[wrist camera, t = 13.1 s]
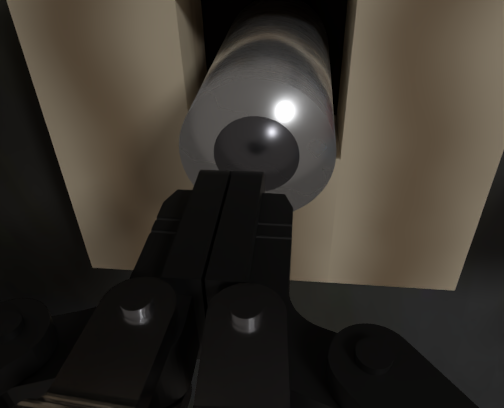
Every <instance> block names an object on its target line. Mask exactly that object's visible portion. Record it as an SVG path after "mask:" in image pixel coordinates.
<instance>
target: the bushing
mask: <svg viewBox="0 0 504 408" xmlns="http://www.w3.org/2000/svg"><path fill="white" fill-rule="evenodd" d="M179 153H180V158H181V162H182V165H183V168H184V170H185V172H186V174H187V176H188V178H189V179H190V181H191V182H192V184H193V185H194V184H195V181H196V179H197V176H198V173H199V171H200V170H201V169H202V170H227V171H232V172H233V171H255V172H264V176H265V193H274V194H285V195H286V197H287V198H288V200H289V202H290V203H291V205H292V207H293V211H295V210H298V209H300V208H302V207H303V206H305V205H307V204H308V203H310V202H311V201H312V200H313V199H315V198H316V197H317V196H318V195H319V194H320V193H321V192H322V191H323V189H324V188H325V186H326V185H327V184H328V182H329V180H330V178H331V176H332V173H333V170H334V167H335V162H336V138H335V125H334V111H333V98H332V84H331V71H330V57H329V43H328V36H327V32H326V29H325V26H324V24H323V22H322V20H321V19H320V17H319V16H318V14H317V13H316V12H315V11H314V10H313V9H312V8H311V7H310V6H308V5H307V4H306V3H304V2H302V1H300V0H255V1H253V2H251V3H250V4H249V5H247V6H246V7H245V8H244V9H243V10H242V11H240V13H239V14H238V15H237V17H236V18H235V20H234V21H233V23H232V25H231V27H230V29H229V31H228V33H227V35H226V37H225V39H224V41H223V43H222V45H221V47H220V49H219V51H218V53H217V55H216V57H215V59H214V61H213V63H212V65H211V67H210V69H209V71H208V73H207V75H206V77H205V79H204V81H203V83H202V85H201V87H200V89H199V91H198V93H197V95H196V97H195V99H194V101H193V103H192V105H191V107H190V109H189V111H188V113H187V115H186V117H185V119H184V122H183V124H182V127H181V131H180V136H179Z"/></svg>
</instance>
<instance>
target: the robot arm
mask: <svg viewBox="0 0 504 408" xmlns="http://www.w3.org/2000/svg"><path fill="white" fill-rule="evenodd" d="M292 227H293V207H292V205H291V203H290V202H289V200H288V198H287V197H286V195H285V194H274V193H265V176H264V172H255V171H233V172H232V171H227V170H202V169H201V170H200V171H199V173H198V176H197V179H196V181H195V184H194V187H193V190H180V189H177V190H176V191H175V192H174V193H173V194H172V195H171V196H170V197H168V198H167V199H166V200H165V201H164V202H163V204H162V206H161V208H160V211H159V213H158V215H157V220H155V222H154V224H153V226H152V229H151V233H149V236H148V238H147V240H146V242H145V245H144V247H143V249H142V252H141V254H140V256H139V258H138V261H137V263H136V265H135V267H134V270H133V272H132V274H131V277H130V279H128V280H125V281H123V282H120V283H118V284H117V285H115V286H114V287H112V288H111V289H110V290H109V291H108V292H107V293H106V294H105V295H104V296H103V297H102V299H101V300H100V302H99V304H98V306H97V307H94V308H91V309H87V310H83V311H78V312H73V313H68V314H62V315H57V316H52V317H51V315H50V313H49V311H48V309H47V307H46V306H45V305H44V304H43V303H41V302H39V301H37V300H34V299H28V298H19V299H12V300H8V301H5V302H2V303H0V408H188V405H189V402H190V398H191V394H192V384H191V381H192V377H193V373H194V369H195V364H196V360H197V359H200V362H199V369H198V376H197V383H196V391H195V398H194V405H193V408H479V407H478V406H477V405H476V404H474V403H473V402H472V401H471V400H470V399H469V398H468V397H467V396H466V395H465V394H464V393H463V392H461V391H460V390H459V389H458V388H457V387H456V386H455V385H454V384H453V383H452V382H451V381H450V380H448V379H447V378H446V377H445V376H444V375H443V374H442V373H441V372H440V371H439V370H438V369H437V368H435V367H434V366H433V365H432V364H431V363H430V362H429V361H428V360H427V359H426V358H425V357H424V356H422V355H421V354H420V353H419V352H418V351H417V350H416V349H415V348H414V347H413V346H412V345H411V344H409V343H408V342H407V341H406V340H405V339H404V338H403V337H401V336H400V335H399V334H397V333H396V332H394V331H392V330H390V329H388V328H386V327H383V326H379V325H375V324H356V325H352V326H349V327H347V328H344V329H343V330H341V331H340V332H338V333H335V332H333V331H330V330H327V329H324V328H322V327H319V326H317V325H314V324H312V323H311V322H309V321H307V320H306V319H305V318H303V317H302V316H301V315H300V314H299V313H298V312H297V311H296V310H295V308H294V307H293V305H292V303H291V301H290V297H289V289H290V271H291V251H292Z"/></svg>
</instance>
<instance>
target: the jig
mask: <svg viewBox="0 0 504 408" xmlns="http://www.w3.org/2000/svg"><path fill="white" fill-rule="evenodd" d="M6 1H7V4H8V7H9V10H10V13H11V16H12V19H13V22H14V26H15V29H16V32H17V35H18V38H19V41H20V44H21V47H22V50H23V54H24V57H25V60H26V63H27V66H28V69H29V72H30V75H31V78H32V81H33V85H34V88H35V91H36V94H37V97H38V100H39V103H40V106H41V109H42V113H43V116H44V119H45V122H46V125H47V128H48V131H49V134H50V137H51V141H52V144H53V147H54V150H55V153H56V156H57V159H58V162H59V165H60V168H61V172H62V175H63V178H64V181H65V184H66V187H67V190H68V193H69V196H70V200H71V203H72V206H73V209H74V212H75V215H76V218H77V221H78V224H79V228H80V231H81V234H82V237H83V240H84V243H85V246H86V249H87V252H88V255H89V259H90V262H91V265H92V268H108V269H123V270H134V267H135V265H136V263H137V261H138V258H139V256H140V254H141V252H142V249H143V247H144V245H145V242H146V240H147V238H148V236H149V233H151V229H152V226H153V224H154V222H155V220H157V215H158V213H159V211H160V208H161V206H162V204H163V202H164V201H165V200H166V199H167V198H168V197H170V196H171V195H172V194H173V193H174V192H175V191H176V190H177V189H180V190H193V187H194V185H193V184H192V182H191V181H190V179H189V178H188V176H187V174H186V172H185V170H184V168H183V165H182V162H181V158H180V153H179V136H180V131H181V127H182V124H183V122H184V119H185V117H186V115H187V113H188V111H189V109H190V107H191V105H192V103H193V101H194V99H195V97H196V95H197V93H198V91H199V89H200V87H201V85H202V83H203V81H204V79H205V77H206V75H207V66H206V54H205V42H204V30H203V19H202V7H201V0H6ZM334 125H335V138H336V162H335V167H334V170H333V173H332V176H331V178H330V180H329V182H328V184H327V185H326V186H325V188H324V189H323V191H322V192H321V193H320V194H319V195H318V196H317V197H316V198H315V199H313V200H312V201H311V202H310V203H308V204H307V205H305V206H303V207H302V208H300V209H298V210H295V211H293V227H292V251H291V271H290V280H297V281H313V282H329V283H345V284H361V285H376V286H392V287H408V288H424V289H440V290H455V288H456V285H457V282H458V280H459V277H460V274H461V271H462V268H463V265H464V262H465V259H466V257H467V254H468V251H469V248H470V245H471V242H472V239H473V236H474V234H475V231H476V228H477V225H478V222H479V219H480V216H481V214H482V211H483V208H484V205H485V202H486V199H487V196H488V193H489V191H490V188H491V185H492V182H493V179H494V176H495V173H496V170H497V168H498V165H499V162H500V159H501V156H502V153H503V150H504V0H348V1H347V11H346V22H345V33H344V43H343V54H342V64H341V75H340V86H339V96H338V107H337V115H334Z"/></svg>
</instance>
